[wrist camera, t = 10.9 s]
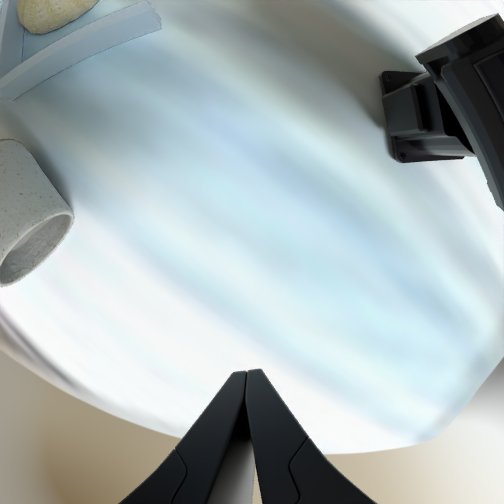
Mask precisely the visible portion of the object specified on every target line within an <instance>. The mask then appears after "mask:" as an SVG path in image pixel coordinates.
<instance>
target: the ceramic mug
mask: <svg viewBox="0 0 504 504" xmlns="http://www.w3.org/2000/svg"><path fill="white" fill-rule="evenodd" d="M73 221H74V214H73V212H72V210H71V208H70V207H69V206H68V205H67V203H66V202H65V201H64V200H63V198H62V197H61V196H60V194H59V193H58V192H57V190H56V189H55V188H54V186H53V185H52V183H51V182H50V181H49V179H48V178H47V176H46V175H45V174H44V172H43V171H42V170H41V168H40V167H39V165H38V164H37V162H36V160H35V159H34V157H33V156H32V154H31V153H30V152H29V151H28V150H27V149H26V148H25V147H24V146H23V145H22V144H21V143H20V142H18V141H16V140H13V139H2V140H0V287H5V286H10V285H12V284H14V283H16V282H18V281H20V280H21V279H23V278H24V277H25V276H27V275H28V274H29V273H31V272H32V271H33V270H35V269H36V268H37V267H38V266H39V265H40V264H42V263H43V262H44V261H45V260H46V259H47V258H48V257H49V256H50V255H51V254H52V253H53V252H54V250H55V249H56V248H57V247H58V245H59V244H60V243H61V242H62V241H63V240H64V238H65V237H66V235H67V234H68V233H69V231H70V229H71V227H72V225H73Z"/></svg>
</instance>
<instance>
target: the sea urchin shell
mask: <svg viewBox="0 0 504 504" xmlns="http://www.w3.org/2000/svg"><path fill="white" fill-rule="evenodd" d="M98 1H99V0H18V4H17V6H16V7H17V9H16V10H17V14H18V17H19V20H20V21H19V22H21V25H23V26H24V27H25V28H26V29H27V30H28V31H30V32H32V33H39V34H41V33H42V34H44V33H47V32H50V31H53V30H55V29H58V28H62V26H64V25H65V24H67V23H69V22H71V21H73V20H76V19H78V17H80V16H81V15H82V14H84V13H85V12H87V11H88V10H90V9H91V8H92V7H93V6H94V5H95V4H96V3H97V2H98Z"/></svg>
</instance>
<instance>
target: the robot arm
mask: <svg viewBox="0 0 504 504" xmlns="http://www.w3.org/2000/svg"><path fill="white" fill-rule="evenodd" d="M415 57H416V59H417V60H418V61H419V63H420V64H423V66H424V67H425V68H426V70H427V72H425V73H415V72H400V71H384V72H382V73H381V74H380V76H379V79H380V83H381V87H382V92H383V98H382V101H383V106H384V111H385V116H386V121H387V127H388V132H389V134H390V135H391V138H392V144H393V151H394V157H395V159H396V161H397V162H399V163H410V162H423V161H437V160H455V159H463V158H464V157H465V156H470V157H477V159H478V161H479V163H480V165H481V167H482V170H483V172H484V174H485V177H486V179H487V184H488V187H489V189H490V192H492V195H493V197H494V200H495V202H496V205H497V206H498V207H500V208H501V209H502V210H503V211H504V21H503V20H502V18H501V17H500V15H499V14H498V13H497V14H493V15H490V16H486V17H483V18H480V19H478V20H476V21H474V22H472V23H470V24H468V25H466V26H464V27H462V28H460V29H459V30H457V31H455V32H453V33H452V34H450V35H448V36H447V37H445V38H443V39H442V40H440V41H438V42H437V43H435V44H433V45H432V46H430V47H429V48H427V49H425V50H424V51H422V52H421V53H419V54H418V55H416V56H415ZM385 76H387V77H388V78H389V81H387V80H386V79H385ZM401 152H402V153H403V159H401V158H400V153H401ZM175 449H176V450H175ZM175 449H173V450H172V452H171V453H170V454H169V455H168V456H167V458H166V459H165V460H164V461H163V462H162V463H161V464H160V466H159V467H158V468H157V469H156V470H155V471H154V472H153V473H152V474H151V475H150V476H149V477H148V478H147V479H146V480H145V481H144V482H143V483H141V484H140V485H139V486H138V487H137V488H136V489H135V490H134V491H132V492H131V493H130V494H129V495H128V496H127V497H126V498H124V499H123V500H122V501H121V502H120V503H118V504H252V499H253V485H254V470H255V465H256V470H257V476H258V482H259V487H260V492H261V498H262V503H263V504H377V503H376V502H375V501H373V500H372V499H370V498H369V497H368V496H367V495H366V494H365V493H363V492H362V491H361V490H360V489H359V488H357V487H356V486H355V485H354V484H353V483H352V482H350V481H349V480H348V479H347V478H346V477H345V476H344V475H343V474H342V473H340V472H339V471H338V470H337V469H336V468H335V467H334V466H333V465H332V464H331V463H330V462H329V461H328V460H327V458H326V457H325V456H324V455H323V454H322V452H321V451H320V450H319V449H318V448H317V446H316V445H315V444H314V442H313V441H312V440H311V439H310V438H309V436H308V435H307V433H306V432H305V430H304V429H303V428H302V426H301V425H300V424H299V422H298V421H297V419H296V418H295V417H294V415H293V414H292V412H291V411H290V410H289V408H288V407H287V405H286V404H285V402H284V401H283V400H282V398H281V397H280V395H279V394H278V392H277V391H276V390H275V388H274V387H273V385H272V384H271V382H270V381H269V379H268V378H267V376H266V375H265V373H264V372H263V370H262V369H253V370H248V371H237V372H233V373H232V374H231V375H230V377H229V378H228V379H227V381H226V382H225V383H224V385H223V386H222V388H221V389H220V390H219V392H218V393H217V394H216V396H215V397H214V398H213V400H212V401H211V402H210V403H209V405H208V406H207V407H206V409H205V410H204V411H203V413H202V414H201V415H200V416H199V418H198V419H197V420H196V422H195V423H194V424H193V425H192V427H191V428H190V429H189V431H188V432H187V433H186V434H185V436H184V437H183V438H182V439H181V441H180V442H179V443H178V445H177V446H176V447H175Z"/></svg>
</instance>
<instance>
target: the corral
mask: <svg viewBox="0 0 504 504" xmlns="http://www.w3.org/2000/svg"><path fill="white" fill-rule="evenodd" d="M17 4H18V0H3V3H2V8H1V12H0V98H3V99H10V100H15V99H16V98H18V97H19V96H21V95H22V94H24V93H25V92H27V91H28V90H30V89H32V88H33V87H35V86H36V85H38V84H40V83H41V82H43V81H45V80H46V79H48V78H50V77H51V76H53V75H55V74H57V73H59V72H60V71H62V70H64V69H66V68H68V67H70V66H72V65H74V64H76V63H78V62H80V61H82V60H84V59H86V58H88V57H90V56H92V55H94V54H97V53H99V52H101V51H103V50H106V49H108V48H110V47H113V46H115V45H118V44H120V43H123V42H125V41H128V40H131V39H133V38H136V37H139V36H142V35H145V34H148V33H151V32H154V31H157V30H160V29H162V27H161V19H160V17H159V16H158V14H157V13H156V11H155V10H154V8H153V7H152V5H151V4H150V3H149V1H148V0H146V1H143V2H140V3H137V4H135V5H132V6H129V7H127V8H124V9H122V10H119V11H117V12H114V13H112V14H109V15H107V16H105V17H103V18H100V19H98V20H96V21H94V22H92V23H90V24H88V25H86V26H84V27H82V28H80V29H78V30H76V31H74V32H72V33H70V34H68V35H66V36H65V37H63V38H61V39H59V40H57V41H56V42H54V43H52V44H51V45H49V46H47V47H46V48H44V49H42V50H41V51H39V52H38V53H36V54H35V55H33V56H32V57H30V58H29V59H27V60H26V61H24V62H23V63H22V49H23V37H24V26H23V25H21V22H19V21H20V20H19V17H18V14H17V10H16V9H17V7H16V6H17Z"/></svg>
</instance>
